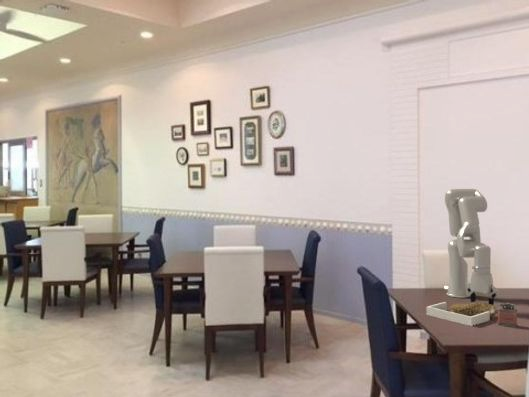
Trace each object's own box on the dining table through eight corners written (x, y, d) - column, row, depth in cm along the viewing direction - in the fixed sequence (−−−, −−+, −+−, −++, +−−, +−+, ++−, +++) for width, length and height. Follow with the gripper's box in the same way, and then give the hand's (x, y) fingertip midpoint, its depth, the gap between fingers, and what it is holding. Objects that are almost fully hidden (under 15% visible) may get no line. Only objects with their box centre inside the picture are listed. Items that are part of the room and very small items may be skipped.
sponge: (492, 317, 248) (450, 305, 255) (496, 302, 246) (453, 291, 253) (492, 329, 237) (447, 316, 244) (496, 314, 234) (451, 302, 242)
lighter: (516, 324, 231) (516, 302, 230) (517, 326, 228) (517, 304, 227) (497, 323, 233) (497, 301, 233) (497, 325, 230) (498, 303, 230)
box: (426, 314, 249) (426, 306, 249) (444, 309, 258) (444, 301, 258) (471, 326, 230) (471, 317, 229) (489, 320, 238) (489, 311, 238)
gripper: (462, 268, 260) (462, 301, 261) (494, 273, 246) (494, 308, 247) (470, 266, 265) (470, 299, 266) (502, 271, 251) (502, 306, 251)
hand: (481, 303), depth 256 cm, fingers open, 9 cm apart
